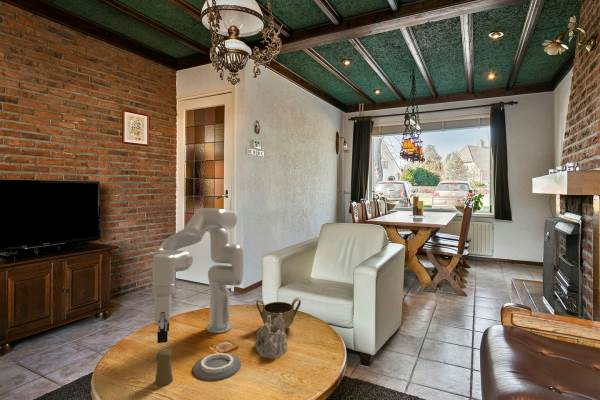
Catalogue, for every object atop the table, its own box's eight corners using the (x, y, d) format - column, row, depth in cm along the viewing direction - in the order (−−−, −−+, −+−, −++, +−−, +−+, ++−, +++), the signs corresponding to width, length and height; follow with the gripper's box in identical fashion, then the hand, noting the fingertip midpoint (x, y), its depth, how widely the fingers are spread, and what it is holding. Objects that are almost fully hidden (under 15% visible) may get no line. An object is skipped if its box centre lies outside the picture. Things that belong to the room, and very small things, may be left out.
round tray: (192, 359, 134) (192, 353, 134) (237, 352, 139) (237, 347, 139) (193, 384, 117) (193, 377, 117) (244, 375, 122) (244, 368, 122)
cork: (158, 376, 121) (158, 347, 121) (175, 376, 121) (175, 346, 121) (152, 386, 115) (152, 355, 115) (170, 385, 115) (170, 355, 115)
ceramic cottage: (263, 336, 155) (263, 306, 153) (294, 346, 147) (294, 314, 146) (243, 353, 141) (243, 320, 139) (276, 364, 134) (276, 329, 132)
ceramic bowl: (299, 321, 174) (299, 293, 174) (301, 335, 157) (302, 304, 157) (256, 322, 172) (257, 293, 172) (254, 336, 156) (255, 305, 155)
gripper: (154, 283, 124) (154, 328, 124) (149, 296, 108) (149, 348, 108) (176, 282, 127) (175, 326, 127) (174, 295, 110) (173, 345, 110)
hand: (163, 336), depth 117 cm, fingers open, 9 cm apart
